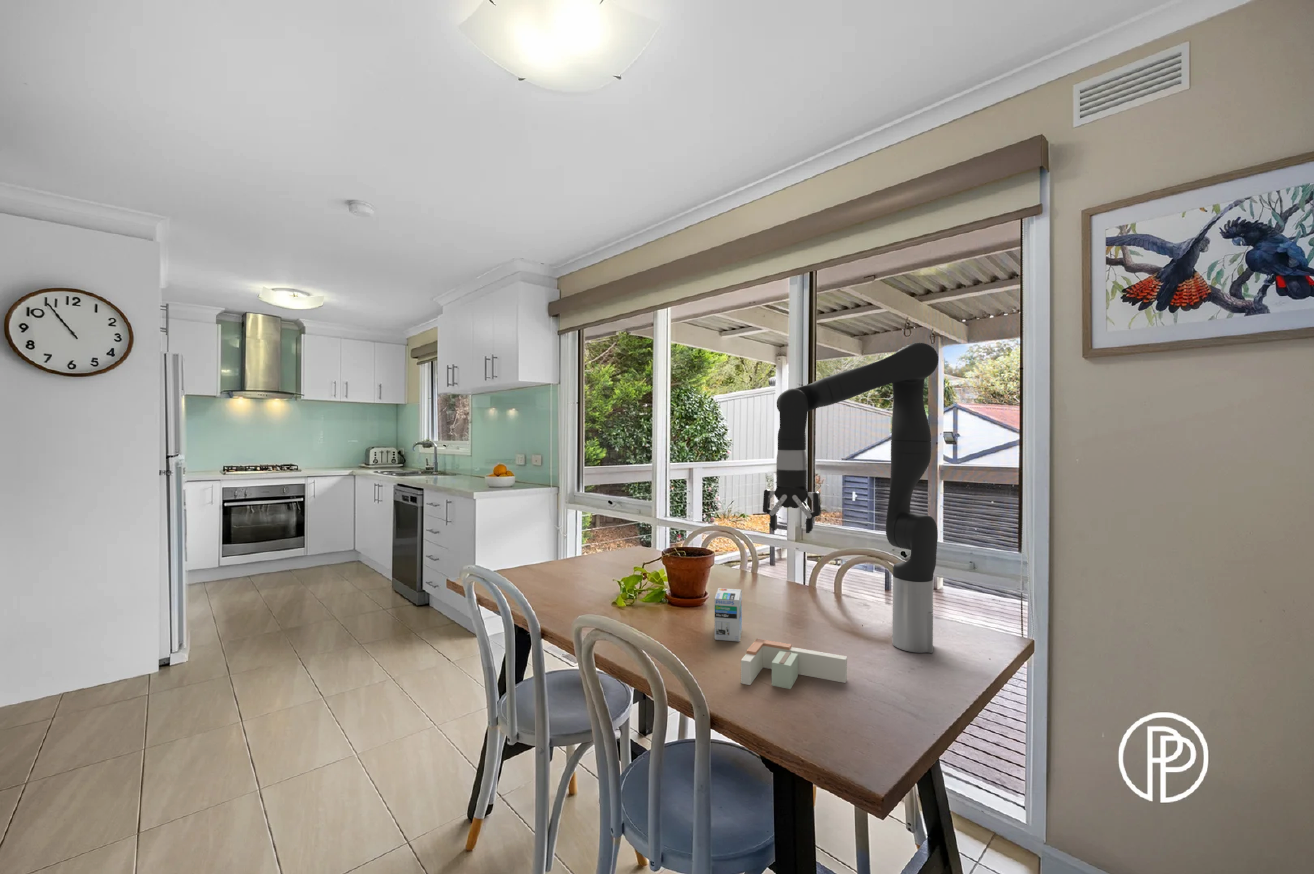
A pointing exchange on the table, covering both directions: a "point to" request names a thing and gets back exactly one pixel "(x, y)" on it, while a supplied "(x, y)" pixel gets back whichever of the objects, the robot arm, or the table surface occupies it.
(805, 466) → the robot arm
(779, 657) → the block
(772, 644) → the corner wall
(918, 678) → the table surface
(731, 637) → the light bulb box
